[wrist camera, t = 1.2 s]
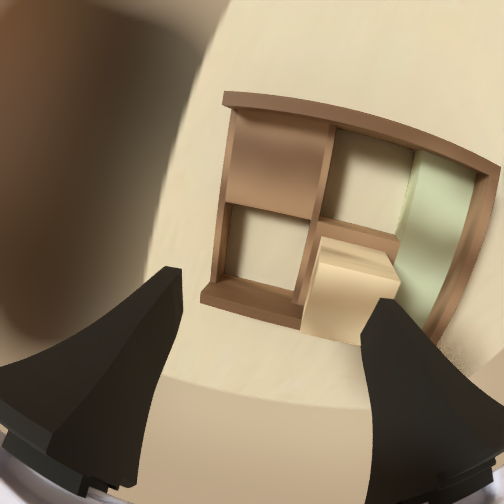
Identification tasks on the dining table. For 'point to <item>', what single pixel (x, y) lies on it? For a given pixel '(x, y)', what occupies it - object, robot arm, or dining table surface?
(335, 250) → the birch block
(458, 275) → the frame
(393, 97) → the dining table surface
